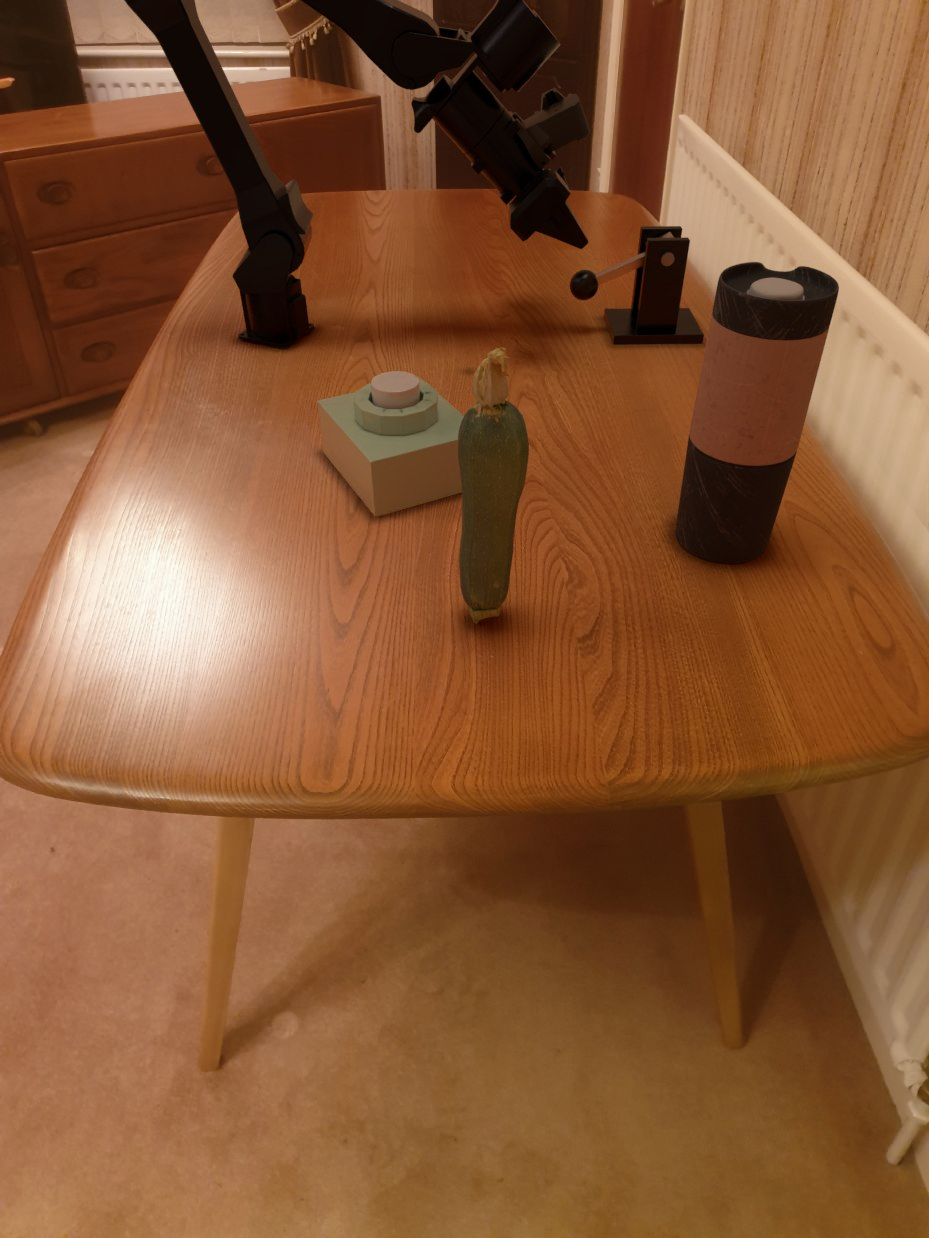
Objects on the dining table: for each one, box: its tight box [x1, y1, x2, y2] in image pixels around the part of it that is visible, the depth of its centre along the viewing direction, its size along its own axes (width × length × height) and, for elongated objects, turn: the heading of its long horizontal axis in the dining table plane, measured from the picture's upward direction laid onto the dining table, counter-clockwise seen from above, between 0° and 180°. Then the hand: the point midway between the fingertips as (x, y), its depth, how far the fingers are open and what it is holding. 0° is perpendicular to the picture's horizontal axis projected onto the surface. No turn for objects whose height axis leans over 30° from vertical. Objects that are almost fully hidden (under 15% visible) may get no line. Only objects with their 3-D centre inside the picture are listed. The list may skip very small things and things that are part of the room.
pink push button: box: [370, 370, 420, 409], centre depth 72 cm, size 4×4×2 cm
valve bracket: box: [603, 225, 705, 346], centre depth 96 cm, size 10×8×11 cm
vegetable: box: [458, 347, 530, 624], centre depth 55 cm, size 4×4×20 cm
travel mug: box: [675, 261, 840, 564], centre depth 62 cm, size 8×8×20 cm
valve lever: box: [569, 232, 674, 301], centre depth 95 cm, size 12×3×3 cm, turn 91°
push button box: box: [316, 377, 465, 518], centre depth 74 cm, size 12×10×7 cm
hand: (584, 245), depth 93 cm, fingers closed
